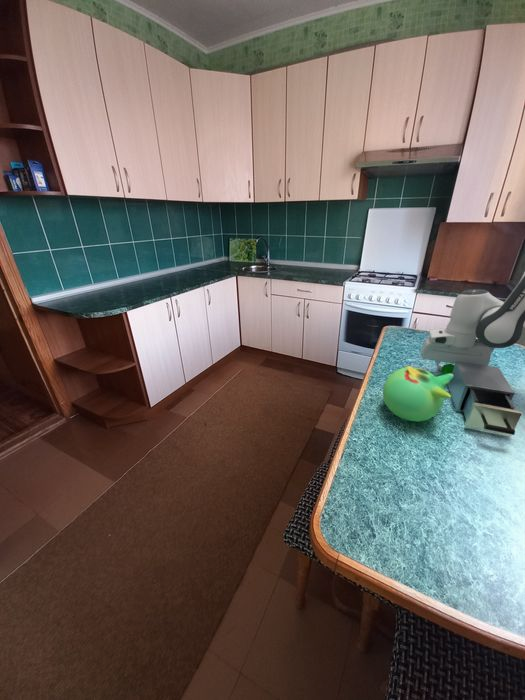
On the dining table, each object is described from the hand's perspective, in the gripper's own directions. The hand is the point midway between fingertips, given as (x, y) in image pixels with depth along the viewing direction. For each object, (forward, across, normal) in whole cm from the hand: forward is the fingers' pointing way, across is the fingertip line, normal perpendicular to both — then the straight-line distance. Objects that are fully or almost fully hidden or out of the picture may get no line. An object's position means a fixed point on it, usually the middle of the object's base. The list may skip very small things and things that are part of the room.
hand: (448, 372), depth 103 cm
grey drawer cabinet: (+2, -5, +13) cm, 14 cm away
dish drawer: (+1, -5, +24) cm, 25 cm away
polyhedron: (+2, 0, 0) cm, 2 cm away
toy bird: (+2, +14, +26) cm, 29 cm away
